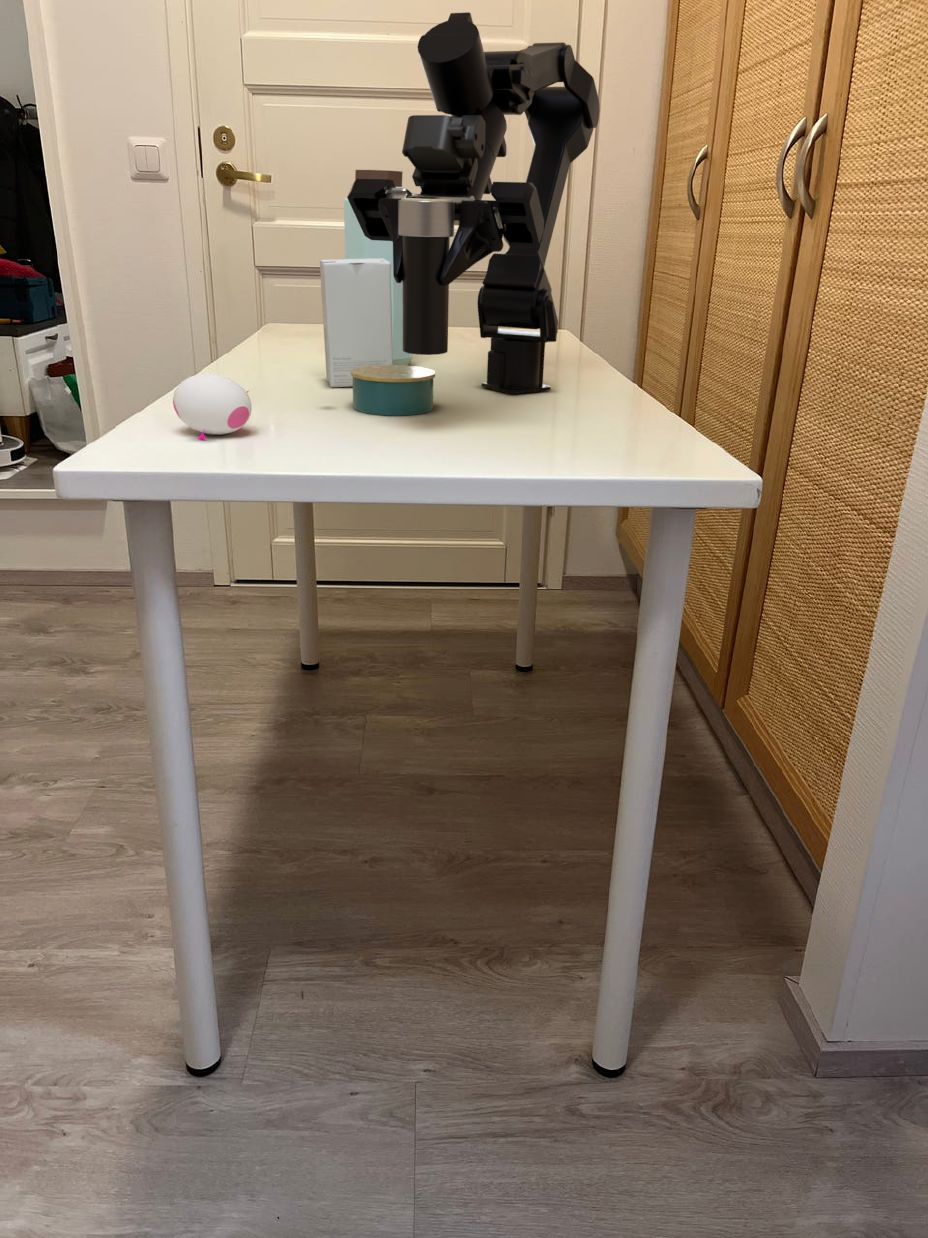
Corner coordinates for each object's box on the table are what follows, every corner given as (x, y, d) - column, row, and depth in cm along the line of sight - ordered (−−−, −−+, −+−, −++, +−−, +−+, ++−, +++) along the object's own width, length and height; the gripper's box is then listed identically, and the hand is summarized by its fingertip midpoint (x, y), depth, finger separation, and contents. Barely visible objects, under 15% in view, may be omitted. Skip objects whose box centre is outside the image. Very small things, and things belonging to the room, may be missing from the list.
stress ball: (258, 465, 95) (272, 403, 96) (229, 433, 87) (244, 366, 88) (187, 456, 96) (202, 395, 97) (152, 424, 88) (168, 358, 89)
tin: (406, 396, 113) (406, 362, 112) (451, 411, 106) (452, 374, 105) (336, 403, 108) (335, 367, 106) (378, 419, 101) (378, 380, 99)
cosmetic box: (387, 379, 124) (387, 257, 118) (394, 387, 119) (394, 260, 113) (322, 380, 122) (319, 256, 116) (326, 388, 117) (323, 259, 111)
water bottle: (425, 361, 139) (427, 173, 129) (398, 371, 130) (399, 169, 120) (362, 356, 142) (360, 171, 132) (332, 365, 133) (328, 168, 123)
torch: (443, 346, 96) (445, 199, 90) (458, 354, 91) (462, 199, 86) (392, 347, 94) (392, 197, 89) (406, 356, 90) (406, 198, 84)
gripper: (354, 84, 90) (298, 212, 85) (542, 81, 84) (493, 219, 79) (391, 178, 100) (343, 297, 95) (561, 181, 93) (519, 309, 89)
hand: (419, 281), depth 89 cm, fingers closed on torch, 4 cm apart
